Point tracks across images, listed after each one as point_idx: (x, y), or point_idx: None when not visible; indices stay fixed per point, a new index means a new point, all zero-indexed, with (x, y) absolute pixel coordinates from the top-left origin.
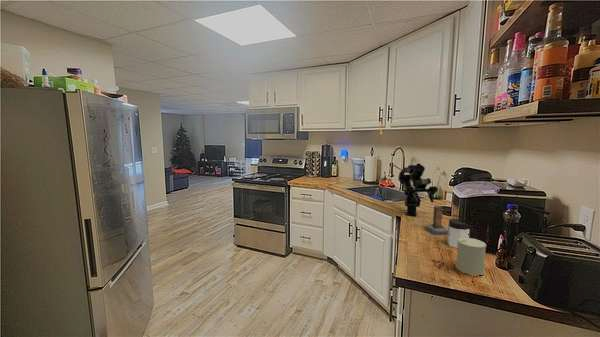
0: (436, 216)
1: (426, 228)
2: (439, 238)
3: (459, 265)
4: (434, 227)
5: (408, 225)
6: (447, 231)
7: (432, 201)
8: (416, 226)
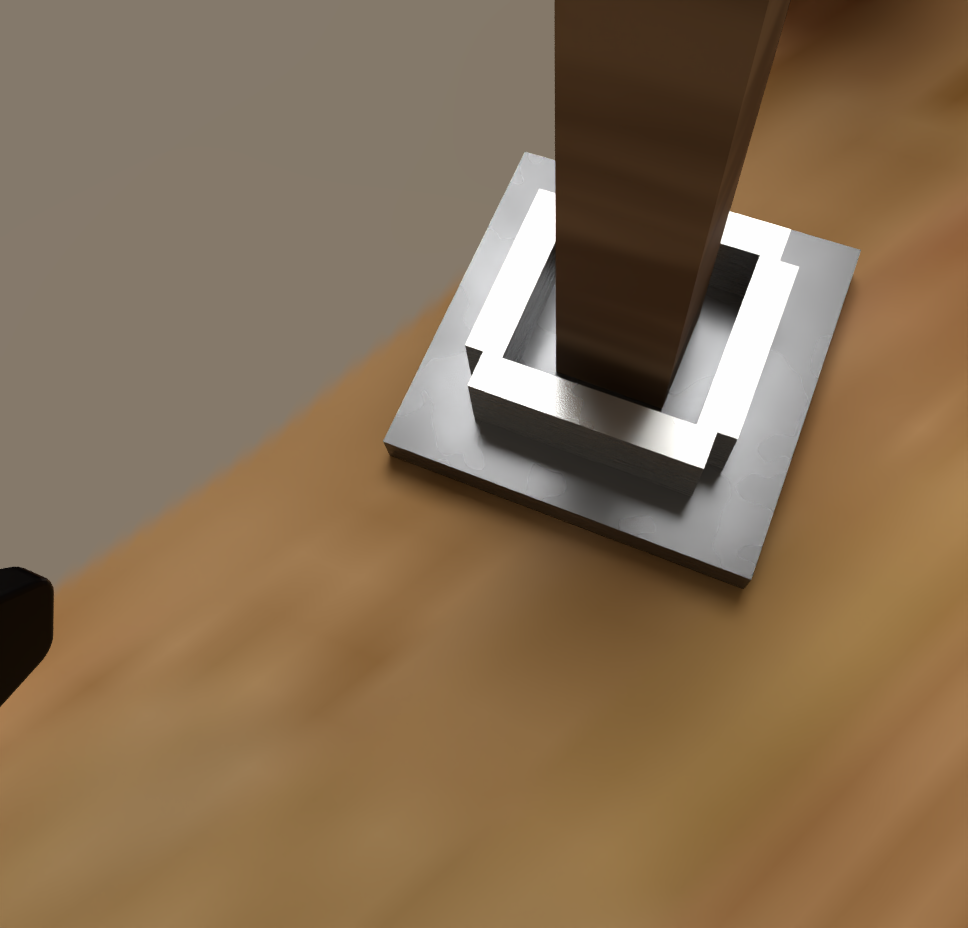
0: (760, 96)
1: (774, 473)
2: (858, 134)
3: None
4: (690, 330)
5: (947, 912)
6: (518, 218)
7: (33, 596)
8: (797, 759)
